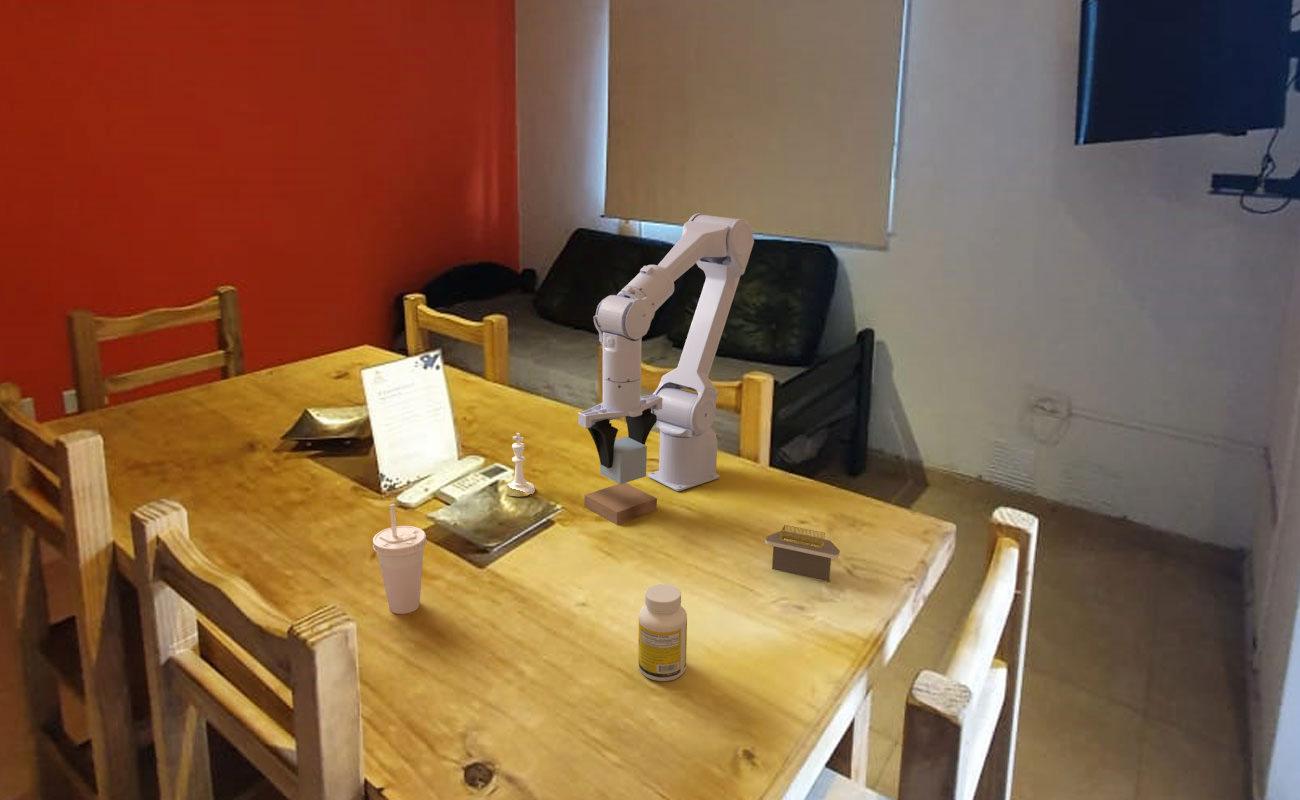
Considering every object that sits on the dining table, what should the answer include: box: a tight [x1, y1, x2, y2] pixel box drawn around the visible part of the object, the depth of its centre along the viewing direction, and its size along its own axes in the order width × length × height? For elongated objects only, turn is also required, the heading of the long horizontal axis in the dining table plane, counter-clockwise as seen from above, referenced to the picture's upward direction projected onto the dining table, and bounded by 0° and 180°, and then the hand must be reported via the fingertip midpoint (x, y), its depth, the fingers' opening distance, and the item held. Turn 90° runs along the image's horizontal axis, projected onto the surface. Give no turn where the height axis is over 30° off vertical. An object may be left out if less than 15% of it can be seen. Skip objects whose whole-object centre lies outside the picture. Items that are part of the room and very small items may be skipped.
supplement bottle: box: [638, 583, 688, 682], centre depth 105 cm, size 5×5×10 cm
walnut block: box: [583, 482, 658, 526], centre depth 145 cm, size 8×8×2 cm
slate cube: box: [599, 436, 648, 484], centre depth 142 cm, size 5×5×5 cm
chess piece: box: [506, 432, 536, 495], centre depth 149 cm, size 5×5×10 cm
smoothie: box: [372, 503, 428, 615], centre depth 115 cm, size 6×6×14 cm
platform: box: [764, 524, 841, 583], centre depth 127 cm, size 12×18×7 cm, turn 66°
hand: (620, 461), depth 143 cm, fingers closed on slate cube, 5 cm apart
